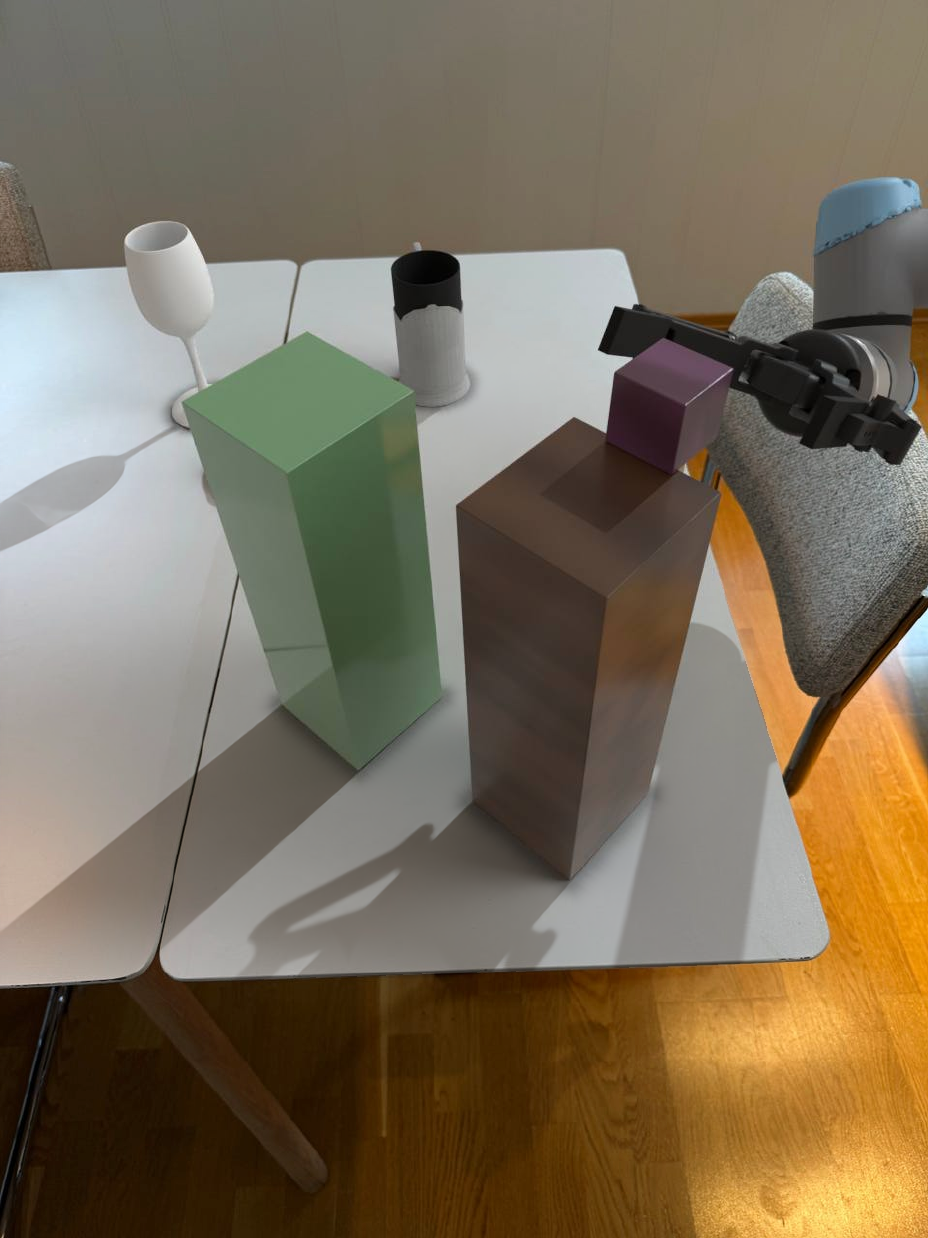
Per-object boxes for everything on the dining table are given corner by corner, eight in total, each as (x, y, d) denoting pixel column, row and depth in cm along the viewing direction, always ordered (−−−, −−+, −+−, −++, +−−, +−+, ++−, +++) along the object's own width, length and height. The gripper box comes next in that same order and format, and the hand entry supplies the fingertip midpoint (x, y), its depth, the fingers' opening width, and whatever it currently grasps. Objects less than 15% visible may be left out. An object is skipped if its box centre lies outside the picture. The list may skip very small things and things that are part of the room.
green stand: (358, 771, 74) (286, 473, 50) (281, 704, 79) (180, 401, 54) (442, 697, 79) (414, 390, 54) (365, 638, 83) (306, 330, 59)
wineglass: (189, 382, 110) (135, 213, 94) (256, 388, 109) (213, 218, 93) (160, 426, 105) (97, 254, 89) (229, 433, 103) (179, 260, 87)
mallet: (685, 405, 45) (734, 367, 47) (613, 371, 47) (663, 336, 49) (643, 612, 57) (684, 574, 59) (586, 577, 59) (628, 542, 61)
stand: (569, 881, 67) (606, 598, 43) (471, 801, 72) (455, 504, 47) (648, 793, 72) (722, 492, 47) (551, 723, 76) (573, 415, 52)
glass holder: (402, 411, 105) (389, 292, 94) (388, 343, 114) (375, 228, 103) (475, 401, 106) (472, 282, 94) (456, 335, 115) (451, 220, 103)
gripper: (958, 505, 63) (881, 535, 46) (663, 370, 74) (518, 356, 58) (1020, 403, 60) (962, 397, 43) (701, 279, 71) (560, 236, 55)
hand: (707, 373), depth 51 cm, fingers open, 13 cm apart
